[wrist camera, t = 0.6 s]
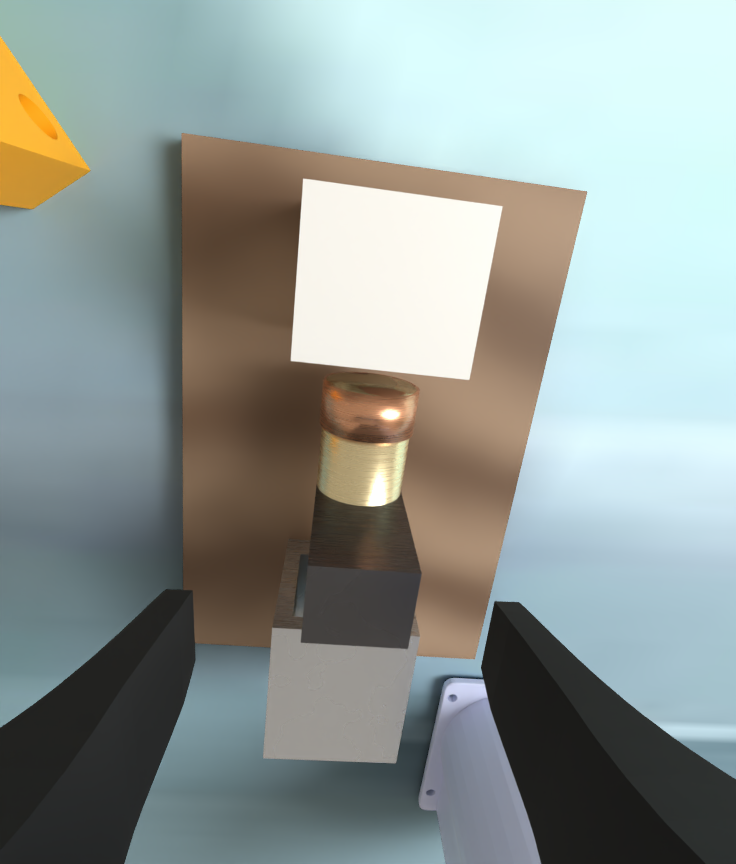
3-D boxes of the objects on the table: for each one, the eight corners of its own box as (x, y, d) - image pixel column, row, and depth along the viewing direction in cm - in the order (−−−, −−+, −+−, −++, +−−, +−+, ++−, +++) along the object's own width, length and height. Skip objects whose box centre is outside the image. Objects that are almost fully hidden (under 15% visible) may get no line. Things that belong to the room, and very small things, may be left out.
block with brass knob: (368, 667, 23) (378, 824, 16) (297, 663, 22) (280, 821, 16) (412, 377, 18) (449, 441, 12) (324, 368, 18) (316, 428, 12)
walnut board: (469, 644, 25) (474, 659, 24) (189, 627, 24) (183, 642, 23) (574, 194, 19) (587, 191, 18) (190, 139, 17) (181, 133, 16)
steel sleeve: (384, 654, 24) (395, 763, 19) (280, 648, 24) (262, 758, 18) (401, 547, 22) (420, 636, 17) (288, 538, 22) (272, 627, 16)
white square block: (434, 346, 19) (469, 380, 14) (304, 331, 19) (290, 361, 14) (455, 220, 18) (502, 206, 13) (314, 201, 17) (302, 178, 12)
